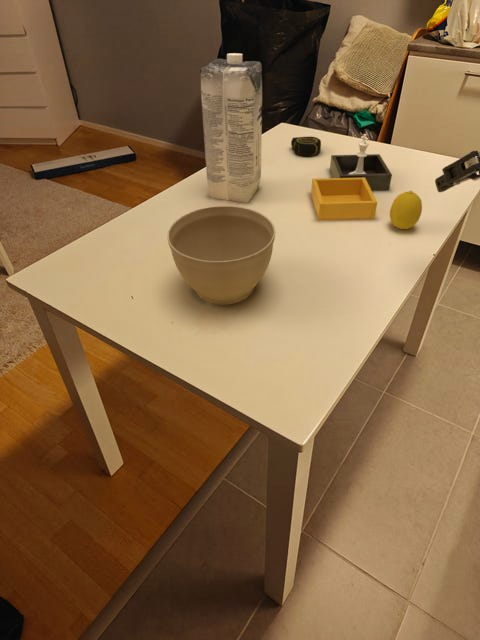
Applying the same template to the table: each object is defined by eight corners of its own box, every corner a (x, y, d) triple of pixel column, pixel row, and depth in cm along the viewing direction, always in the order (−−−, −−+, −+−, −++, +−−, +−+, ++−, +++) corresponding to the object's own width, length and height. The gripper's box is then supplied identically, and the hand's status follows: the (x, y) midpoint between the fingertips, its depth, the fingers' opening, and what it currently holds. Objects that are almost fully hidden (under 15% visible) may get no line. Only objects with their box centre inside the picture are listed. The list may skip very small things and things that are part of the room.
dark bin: (376, 171, 108) (379, 154, 106) (388, 192, 100) (392, 174, 97) (329, 172, 108) (331, 155, 106) (337, 193, 100) (339, 176, 97)
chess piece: (359, 186, 101) (367, 140, 95) (342, 178, 104) (348, 134, 98) (373, 179, 104) (381, 134, 97) (356, 172, 107) (363, 128, 100)
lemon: (396, 219, 92) (405, 181, 86) (421, 229, 89) (432, 191, 83) (380, 230, 89) (389, 191, 83) (406, 240, 86) (416, 201, 80)
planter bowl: (244, 251, 84) (244, 196, 77) (291, 300, 73) (295, 242, 66) (161, 276, 79) (152, 219, 71) (198, 333, 68) (192, 273, 61)
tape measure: (316, 148, 119) (318, 133, 117) (322, 159, 114) (324, 144, 112) (290, 149, 119) (291, 135, 116) (295, 160, 114) (296, 145, 111)
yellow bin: (361, 195, 100) (364, 177, 97) (373, 221, 91) (377, 202, 89) (310, 196, 99) (312, 178, 97) (317, 222, 91) (320, 203, 88)
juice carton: (250, 208, 96) (250, 63, 78) (204, 200, 99) (194, 59, 81) (263, 189, 102) (266, 52, 84) (219, 183, 105) (213, 48, 87)
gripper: (586, 94, 59) (488, 151, 74) (500, 109, 55) (415, 166, 70) (603, 150, 59) (501, 195, 74) (518, 169, 55) (429, 212, 70)
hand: (460, 181), depth 72 cm, fingers open, 8 cm apart
